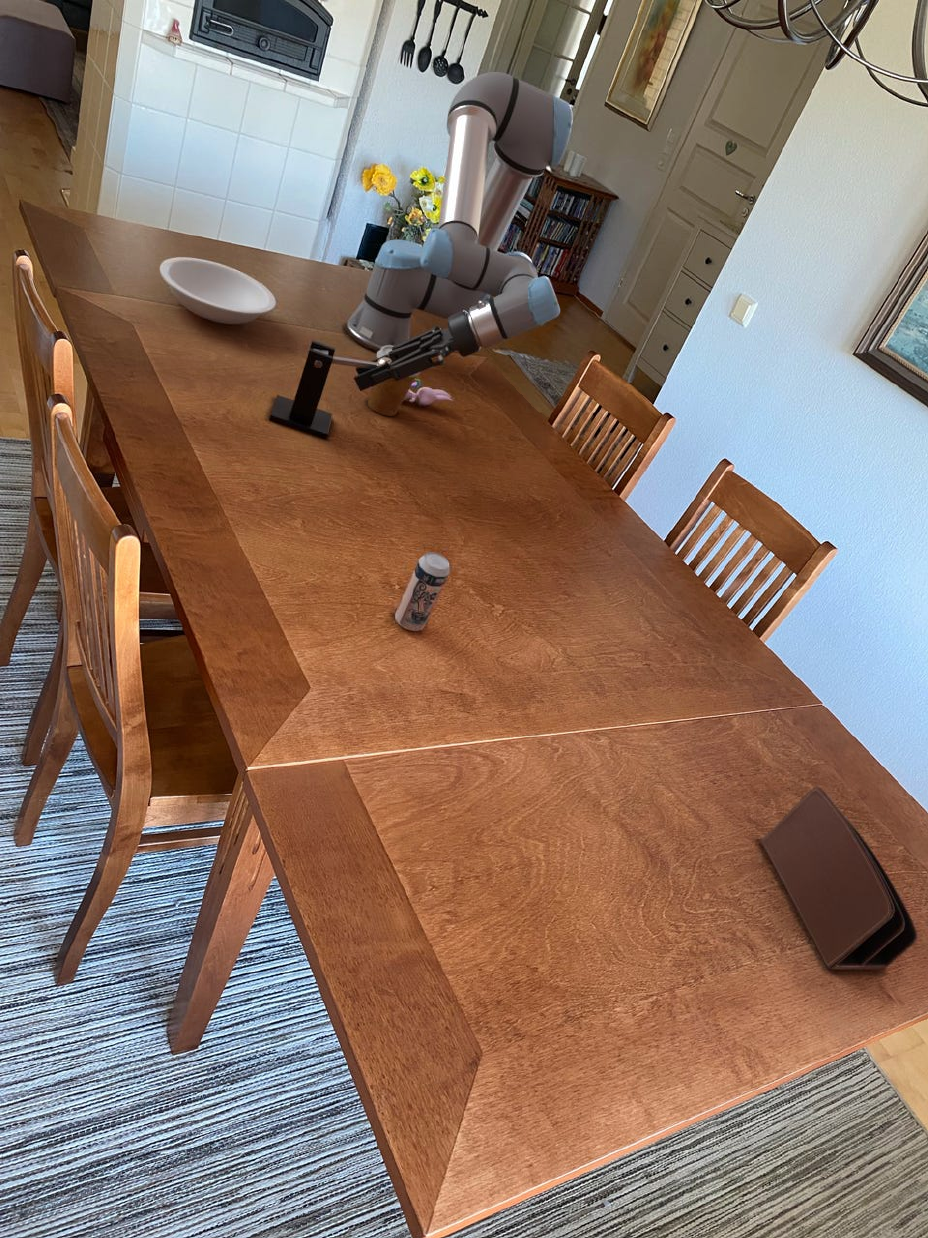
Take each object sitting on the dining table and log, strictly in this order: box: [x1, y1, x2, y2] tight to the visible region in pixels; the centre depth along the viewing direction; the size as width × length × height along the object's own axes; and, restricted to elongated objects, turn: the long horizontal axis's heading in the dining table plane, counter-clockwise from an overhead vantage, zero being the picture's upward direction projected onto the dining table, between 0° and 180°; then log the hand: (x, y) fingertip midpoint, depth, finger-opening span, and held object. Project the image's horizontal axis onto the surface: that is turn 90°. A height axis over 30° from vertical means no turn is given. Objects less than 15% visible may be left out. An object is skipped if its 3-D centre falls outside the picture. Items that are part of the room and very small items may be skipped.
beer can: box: [394, 552, 451, 632], centre depth 137 cm, size 5×5×12 cm
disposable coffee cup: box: [367, 345, 421, 417], centre depth 190 cm, size 10×10×12 cm
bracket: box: [268, 339, 336, 440], centre depth 172 cm, size 11×9×15 cm
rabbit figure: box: [403, 378, 454, 406], centre depth 200 cm, size 6×6×15 cm
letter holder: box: [760, 786, 918, 971], centre depth 123 cm, size 10×20×14 cm, turn 14°
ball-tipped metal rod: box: [313, 349, 393, 369], centre depth 170 cm, size 15×4×4 cm, turn 91°
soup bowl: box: [159, 256, 277, 325], centre depth 195 cm, size 24×24×7 cm
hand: (358, 379), depth 171 cm, fingers closed on ball-tipped metal rod, 4 cm apart
